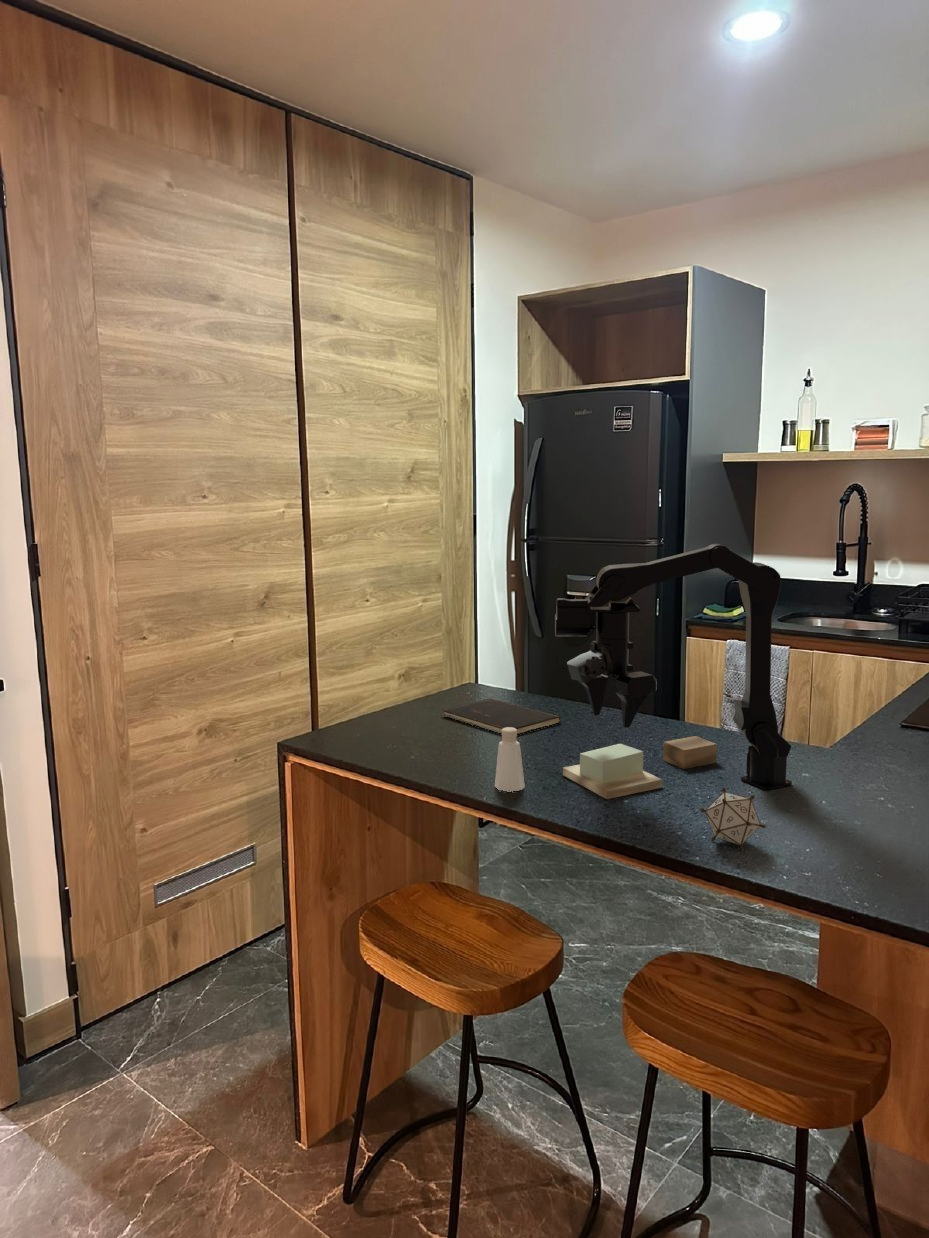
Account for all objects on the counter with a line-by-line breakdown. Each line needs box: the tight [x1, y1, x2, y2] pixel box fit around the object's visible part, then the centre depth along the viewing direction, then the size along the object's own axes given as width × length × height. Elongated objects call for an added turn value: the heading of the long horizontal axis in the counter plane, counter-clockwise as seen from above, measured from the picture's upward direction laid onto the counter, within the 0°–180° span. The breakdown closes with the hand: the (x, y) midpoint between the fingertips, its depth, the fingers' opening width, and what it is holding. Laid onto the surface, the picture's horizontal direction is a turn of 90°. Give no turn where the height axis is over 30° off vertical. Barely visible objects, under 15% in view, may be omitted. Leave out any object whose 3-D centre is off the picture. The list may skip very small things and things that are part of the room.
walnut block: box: [663, 735, 718, 770], centre depth 170 cm, size 6×8×4 cm
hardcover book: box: [441, 698, 561, 734], centre depth 201 cm, size 16×23×2 cm
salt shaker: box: [494, 727, 525, 793], centre depth 157 cm, size 5×5×11 cm
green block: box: [579, 743, 644, 784], centre depth 159 cm, size 6×10×4 cm, turn 124°
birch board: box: [562, 763, 663, 800], centre depth 160 cm, size 14×12×2 cm
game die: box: [698, 786, 767, 851], centre depth 132 cm, size 9×8×10 cm
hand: (611, 721), depth 158 cm, fingers open, 9 cm apart
